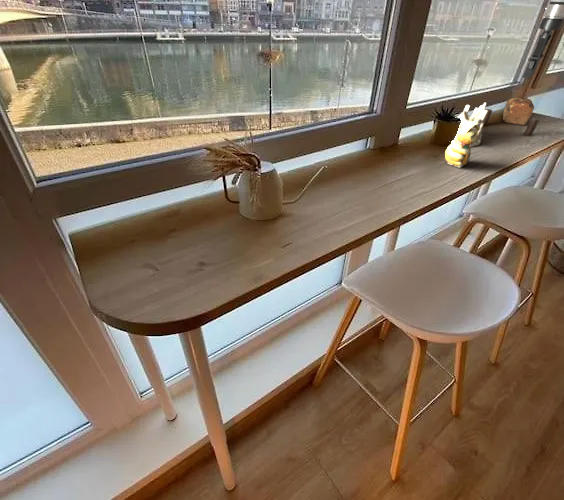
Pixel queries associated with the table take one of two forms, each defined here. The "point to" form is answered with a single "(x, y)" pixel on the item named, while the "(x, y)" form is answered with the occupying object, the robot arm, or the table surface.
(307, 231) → the table surface
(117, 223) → the table surface
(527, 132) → the dark brown pieces
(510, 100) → the bread
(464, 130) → the decorative figurine
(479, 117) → the white pronged sculpture
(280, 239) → the table surface
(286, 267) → the table surface
